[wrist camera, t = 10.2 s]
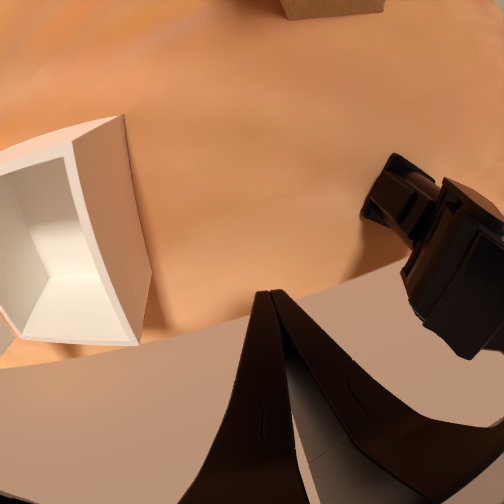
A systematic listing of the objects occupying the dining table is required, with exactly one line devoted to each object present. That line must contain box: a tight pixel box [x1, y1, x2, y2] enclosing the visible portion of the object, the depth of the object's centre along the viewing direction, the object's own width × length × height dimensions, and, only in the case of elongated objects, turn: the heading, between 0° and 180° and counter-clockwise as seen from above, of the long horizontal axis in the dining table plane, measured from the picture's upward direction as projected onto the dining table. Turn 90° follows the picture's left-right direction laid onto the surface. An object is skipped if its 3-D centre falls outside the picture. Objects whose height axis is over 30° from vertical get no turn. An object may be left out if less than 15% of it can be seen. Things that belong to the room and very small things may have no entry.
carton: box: [0, 114, 152, 346], centre depth 15 cm, size 12×14×8 cm
